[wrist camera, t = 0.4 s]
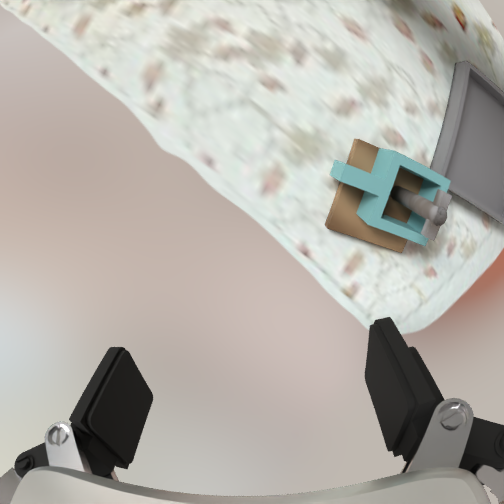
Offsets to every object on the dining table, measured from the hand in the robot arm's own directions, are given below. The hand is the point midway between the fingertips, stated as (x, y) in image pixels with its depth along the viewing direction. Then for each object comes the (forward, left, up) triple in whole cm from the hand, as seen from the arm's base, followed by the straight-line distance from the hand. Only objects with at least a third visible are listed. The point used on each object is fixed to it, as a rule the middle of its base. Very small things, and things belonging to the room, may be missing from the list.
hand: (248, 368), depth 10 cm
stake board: (-5, +15, -28) cm, 32 cm away
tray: (-20, +31, -28) cm, 47 cm away
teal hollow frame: (-7, +14, -27) cm, 31 cm away
